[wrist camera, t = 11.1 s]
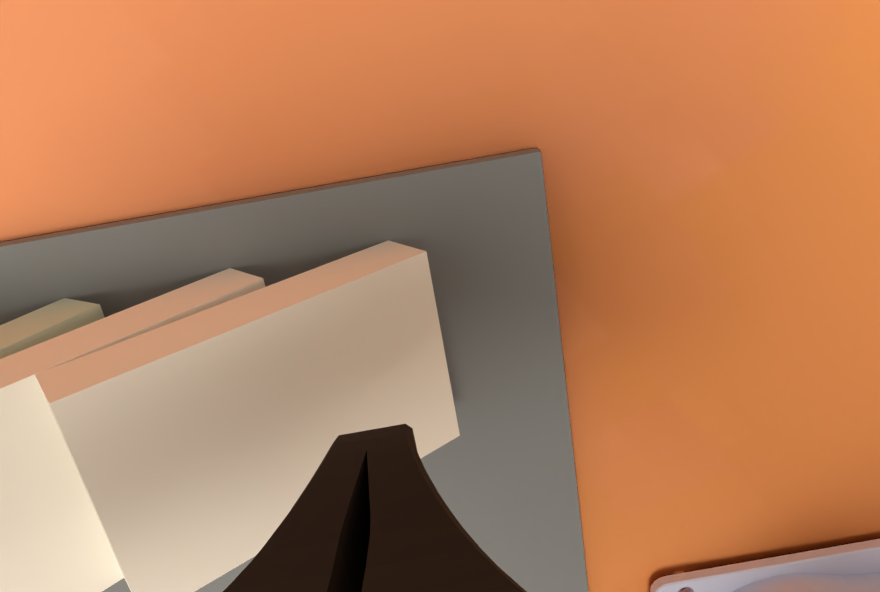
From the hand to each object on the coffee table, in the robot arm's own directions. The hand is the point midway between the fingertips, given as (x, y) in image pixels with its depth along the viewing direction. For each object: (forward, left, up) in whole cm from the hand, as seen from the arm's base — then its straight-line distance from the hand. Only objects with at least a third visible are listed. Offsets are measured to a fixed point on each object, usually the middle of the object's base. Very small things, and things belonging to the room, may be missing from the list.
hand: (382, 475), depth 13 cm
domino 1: (-1, 0, -5) cm, 5 cm away
